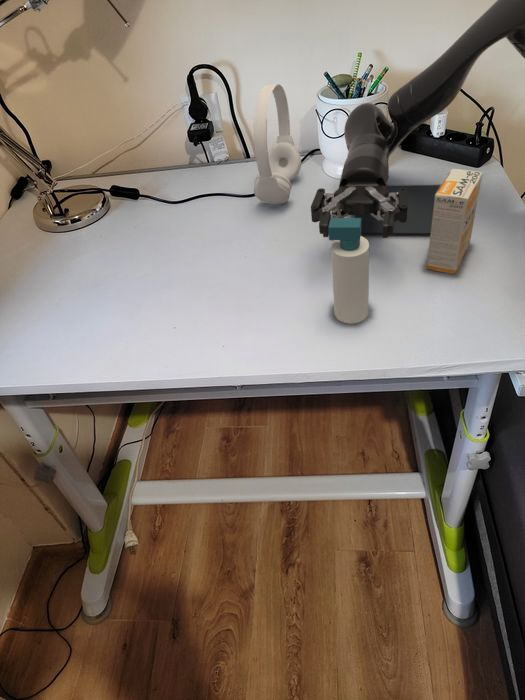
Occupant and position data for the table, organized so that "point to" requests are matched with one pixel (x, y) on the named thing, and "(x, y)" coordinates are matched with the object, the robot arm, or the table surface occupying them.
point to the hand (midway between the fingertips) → (354, 232)
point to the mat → (416, 213)
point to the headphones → (274, 150)
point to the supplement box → (453, 219)
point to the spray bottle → (349, 269)
